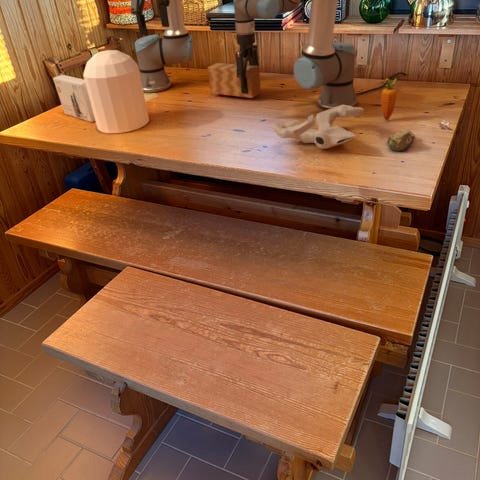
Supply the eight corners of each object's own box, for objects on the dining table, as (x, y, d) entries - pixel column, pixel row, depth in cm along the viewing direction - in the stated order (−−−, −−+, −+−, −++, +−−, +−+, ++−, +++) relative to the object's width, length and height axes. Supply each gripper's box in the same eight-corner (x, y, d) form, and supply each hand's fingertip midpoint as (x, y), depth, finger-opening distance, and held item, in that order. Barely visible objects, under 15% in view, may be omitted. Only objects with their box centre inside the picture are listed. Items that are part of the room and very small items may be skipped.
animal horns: (271, 156, 148) (270, 121, 142) (282, 128, 169) (280, 95, 163) (362, 157, 142) (365, 119, 136) (361, 127, 163) (363, 93, 157)
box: (210, 93, 205) (207, 67, 198) (219, 88, 210) (216, 62, 203) (252, 97, 195) (250, 70, 189) (260, 92, 200) (259, 66, 194)
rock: (408, 140, 153) (379, 139, 152) (414, 122, 149) (384, 120, 148) (421, 154, 144) (391, 153, 143) (428, 135, 140) (396, 133, 139)
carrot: (394, 118, 167) (398, 76, 158) (393, 123, 163) (397, 80, 154) (379, 117, 168) (383, 75, 160) (378, 122, 165) (382, 80, 156)
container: (103, 137, 175) (82, 61, 159) (92, 121, 191) (73, 50, 175) (155, 125, 181) (141, 50, 166) (141, 110, 198) (127, 41, 182)
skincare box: (63, 114, 202) (52, 77, 193) (74, 110, 205) (63, 74, 196) (91, 122, 190) (80, 83, 181) (101, 118, 193) (91, 80, 184)
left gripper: (129, -35, 142) (143, 38, 154) (173, -43, 160) (182, 23, 172) (110, -34, 145) (125, 38, 157) (155, -42, 163) (165, 23, 175)
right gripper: (240, 39, 176) (245, 98, 189) (265, 27, 190) (268, 83, 203) (224, 38, 180) (229, 96, 193) (250, 27, 193) (253, 82, 206)
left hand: (155, 30), depth 164 cm, fingers open, 13 cm apart
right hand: (249, 90), depth 198 cm, fingers closed on box, 7 cm apart
